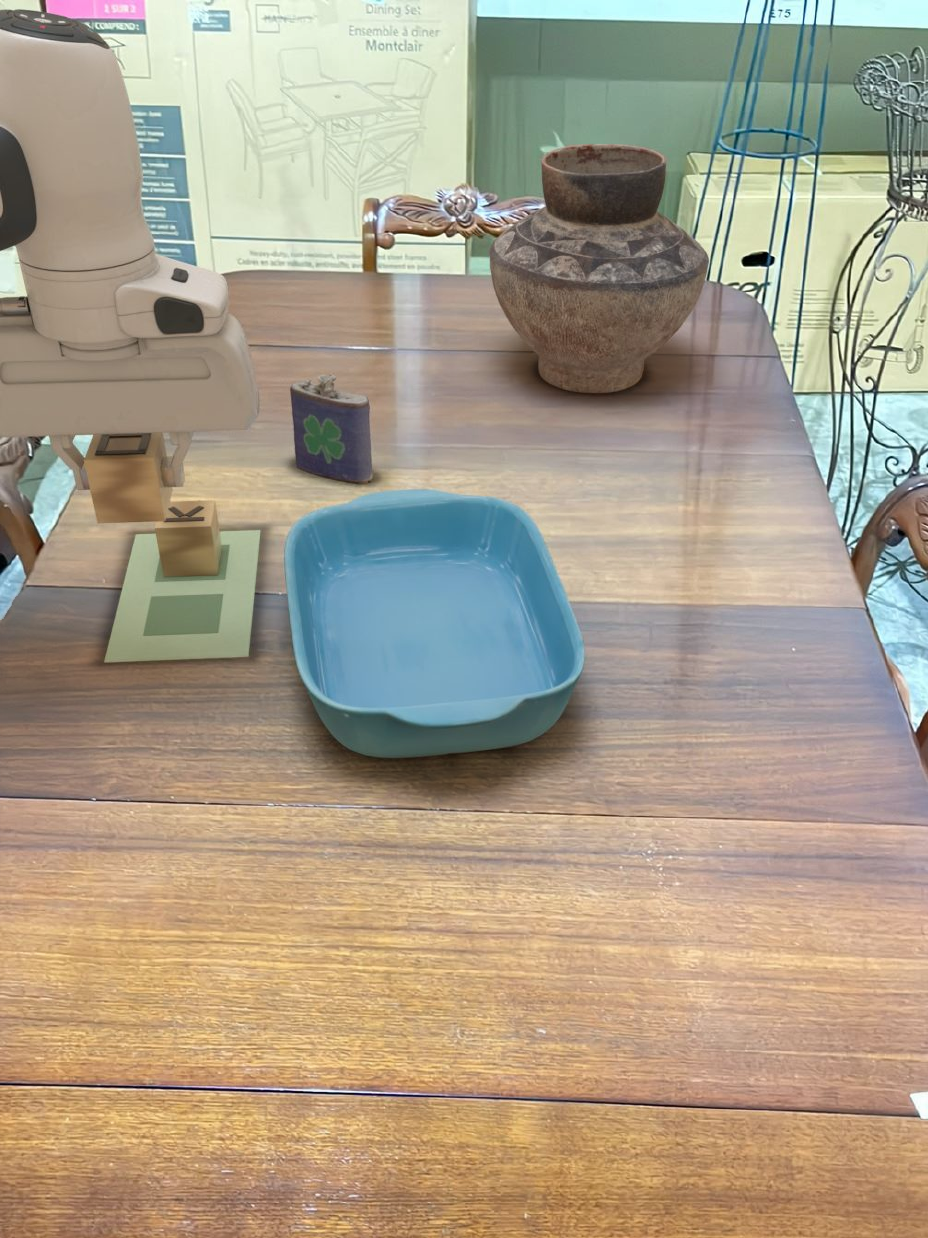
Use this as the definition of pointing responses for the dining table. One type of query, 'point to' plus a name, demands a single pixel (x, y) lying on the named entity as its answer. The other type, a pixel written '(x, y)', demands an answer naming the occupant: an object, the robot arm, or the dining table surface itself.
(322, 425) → the flask
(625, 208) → the ceramic pot
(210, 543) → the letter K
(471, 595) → the casserole dish
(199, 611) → the word mat
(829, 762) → the dining table surface
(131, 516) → the letter O
